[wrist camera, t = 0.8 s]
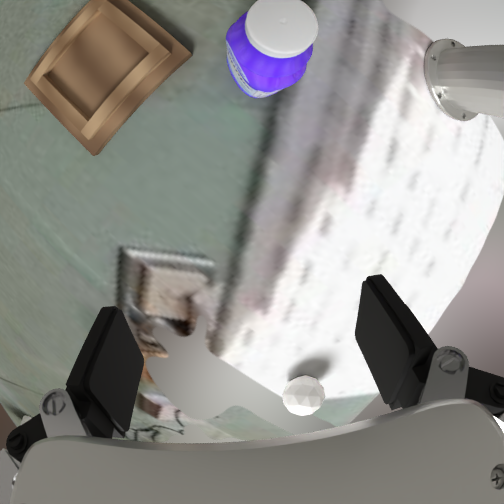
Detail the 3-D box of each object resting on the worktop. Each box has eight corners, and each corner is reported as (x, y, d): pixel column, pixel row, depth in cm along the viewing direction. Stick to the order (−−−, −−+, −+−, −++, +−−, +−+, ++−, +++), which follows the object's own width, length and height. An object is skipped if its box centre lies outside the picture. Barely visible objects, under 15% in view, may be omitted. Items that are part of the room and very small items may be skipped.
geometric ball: (287, 368, 53) (277, 384, 46) (328, 370, 50) (323, 387, 43) (287, 401, 53) (276, 420, 45) (326, 404, 50) (320, 424, 43)
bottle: (218, 52, 26) (207, -7, 10) (264, 33, 25) (299, -34, 10) (246, 105, 29) (265, 96, 14) (292, 86, 28) (355, 65, 13)
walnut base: (111, -12, 20) (103, -19, 17) (192, 55, 26) (189, 50, 23) (30, 83, 24) (18, 83, 21) (98, 154, 30) (89, 158, 27)
